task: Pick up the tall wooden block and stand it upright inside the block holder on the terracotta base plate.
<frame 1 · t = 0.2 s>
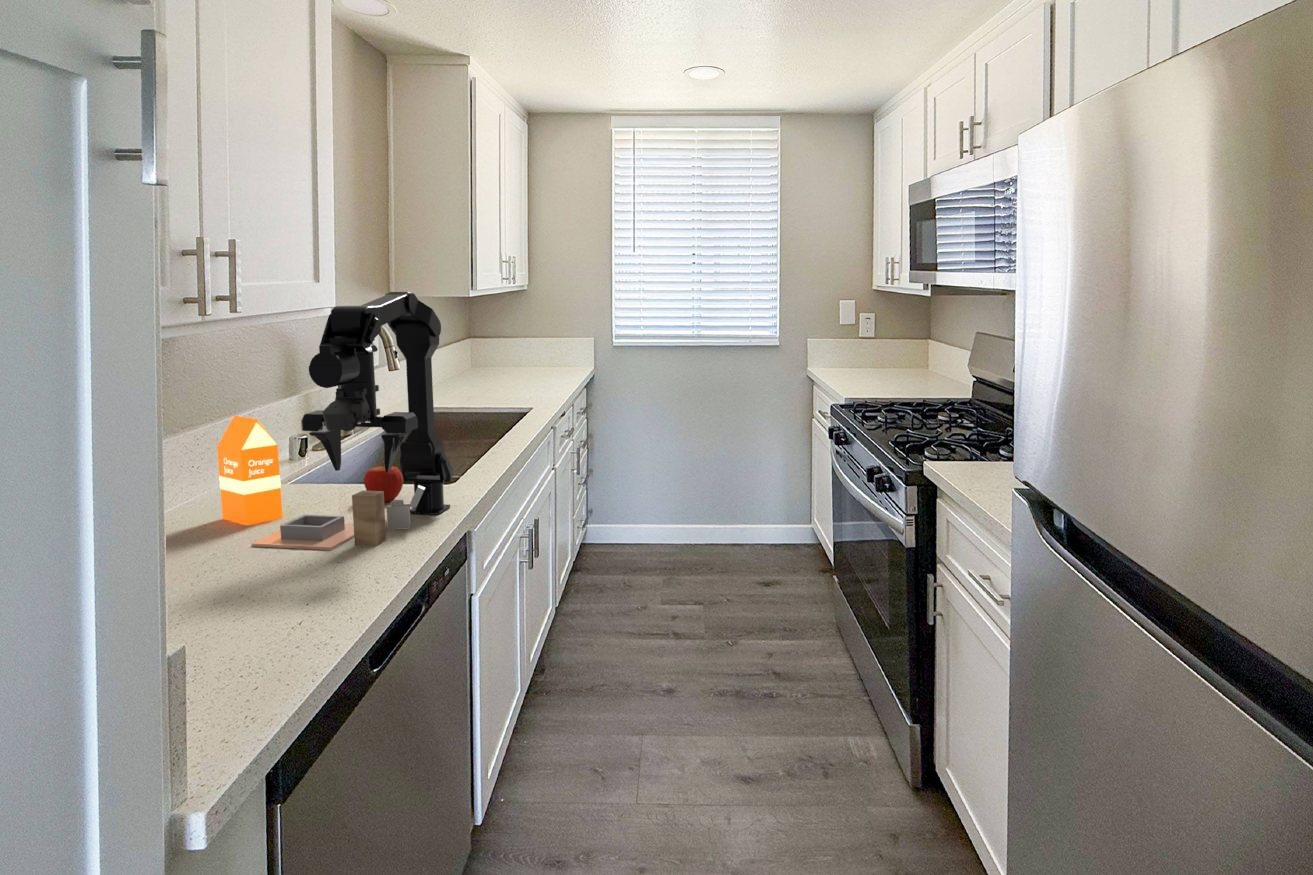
hand: (362, 471, 161), 14 cm above the worktop, fingers open, 9 cm apart
block holder: (313, 536, 171), on the worktop
lighter: (407, 528, 177), on the worktop
orange juice: (252, 519, 184), on the worktop
apple: (384, 501, 199), on the worktop
wooden block: (370, 542, 167), on the worktop
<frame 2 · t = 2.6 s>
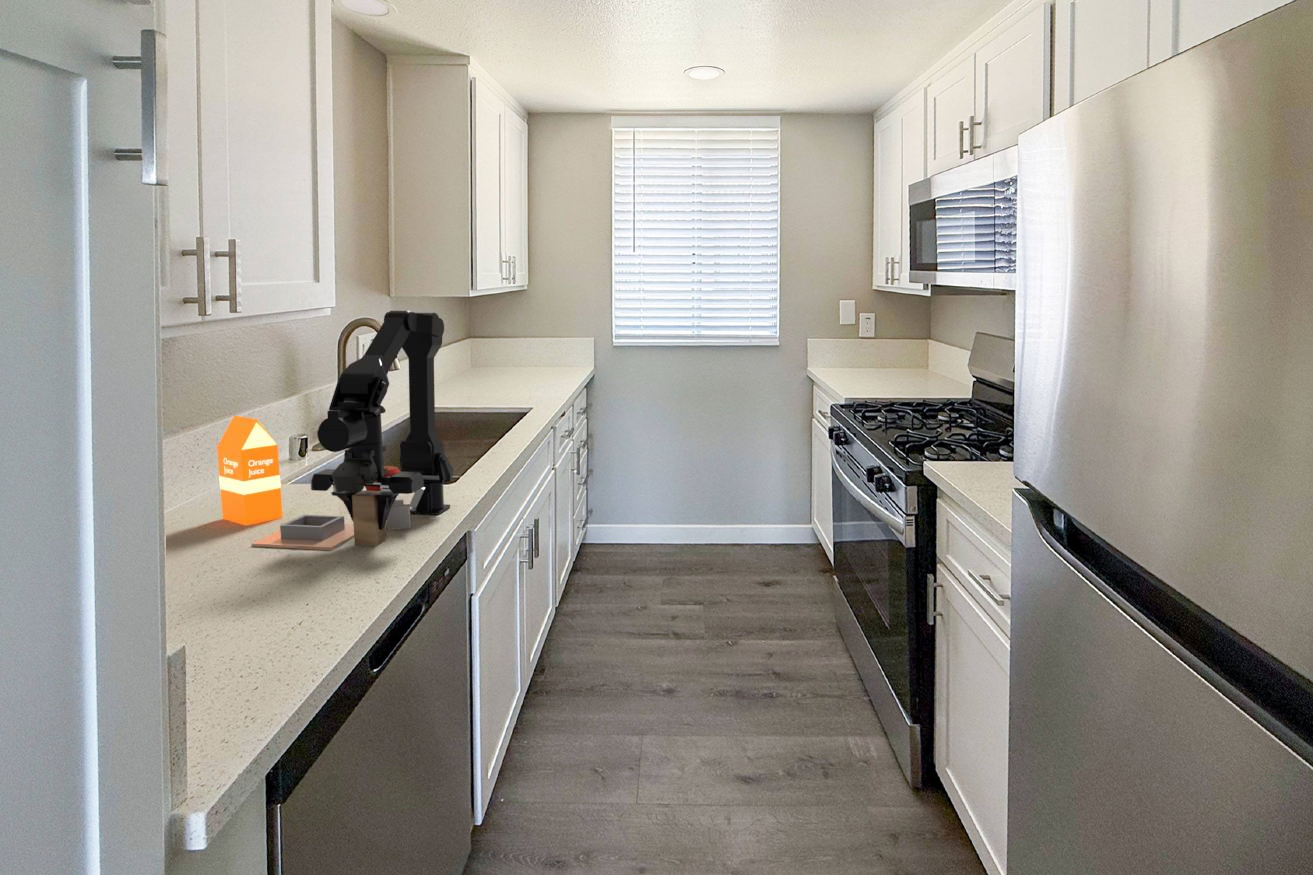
hand: (369, 528, 166), 3 cm above the worktop, fingers closed on wooden block, 4 cm apart
wooden block: (370, 542, 167), on the worktop, touching gripper
everything else where it was.
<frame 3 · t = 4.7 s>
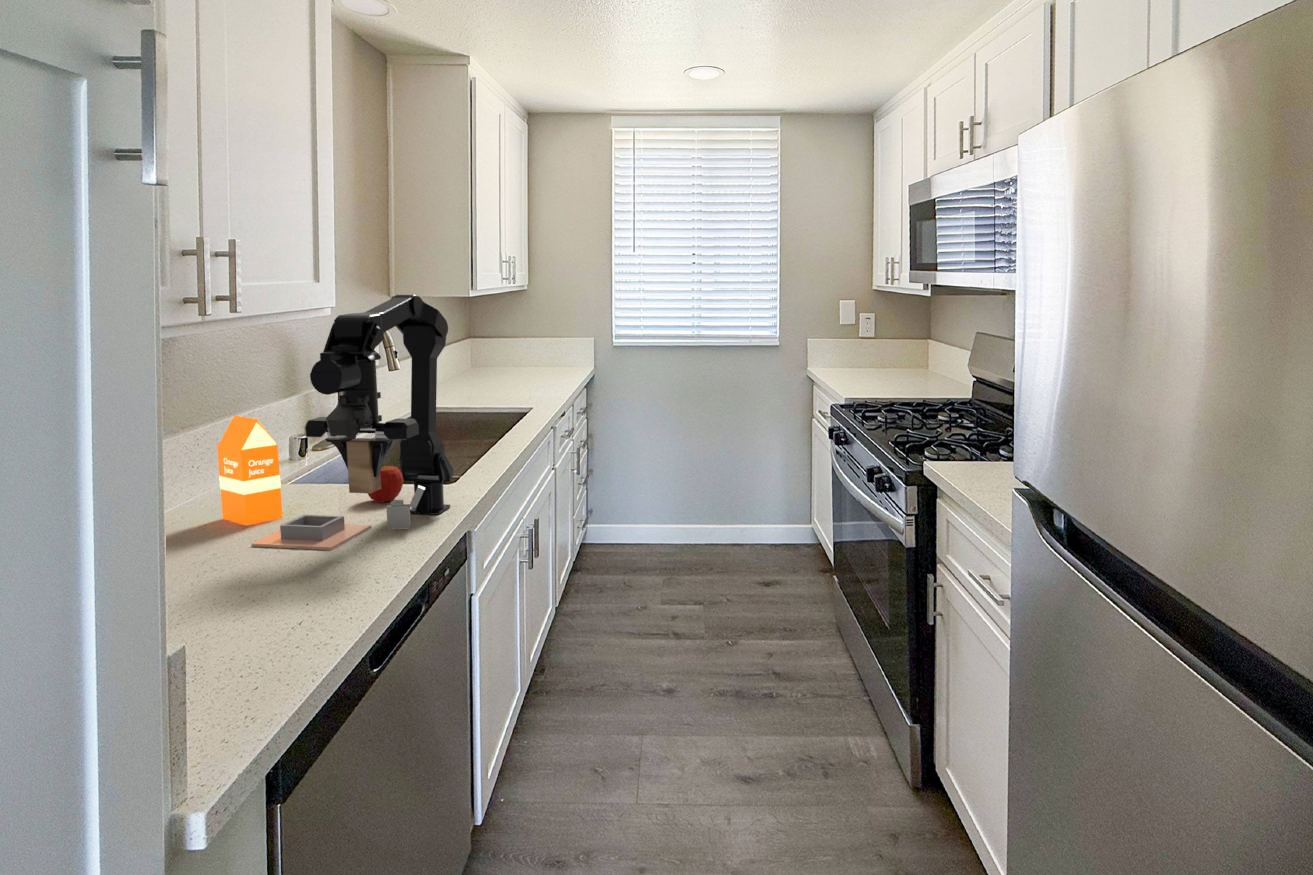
hand: (364, 476, 165), 12 cm above the worktop, fingers closed on wooden block, 4 cm apart
wooden block: (365, 490, 165), point 9 cm above the worktop, touching gripper
everything else where it was.
when the fingers open (4 cm above the worktop, at t = 7.2 s): wooden block stays where it is, resting on block holder.
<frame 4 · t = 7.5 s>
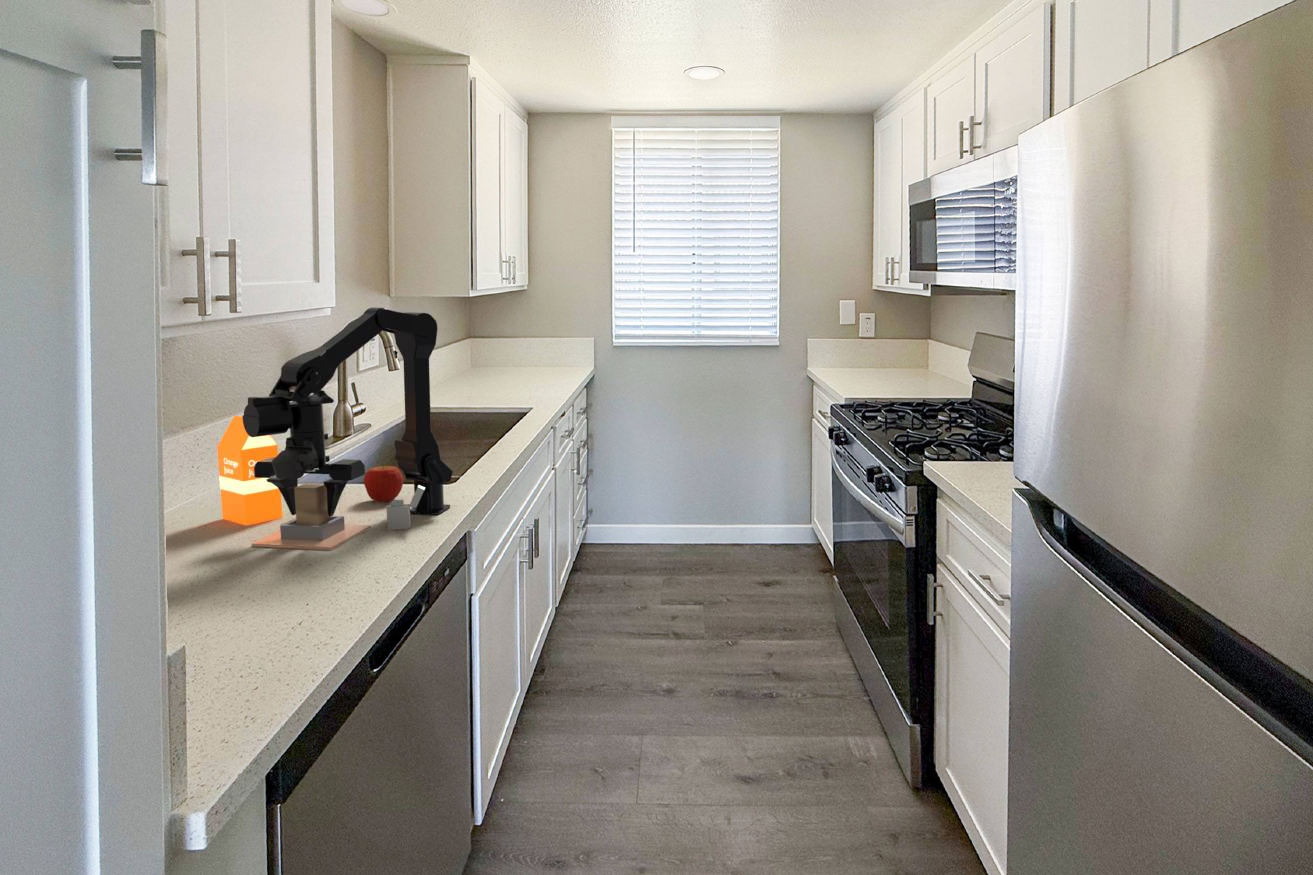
hand: (312, 515, 170), 4 cm above the worktop, fingers open, 7 cm apart
wooden block: (313, 534, 170), resting on block holder
everything else where it was.
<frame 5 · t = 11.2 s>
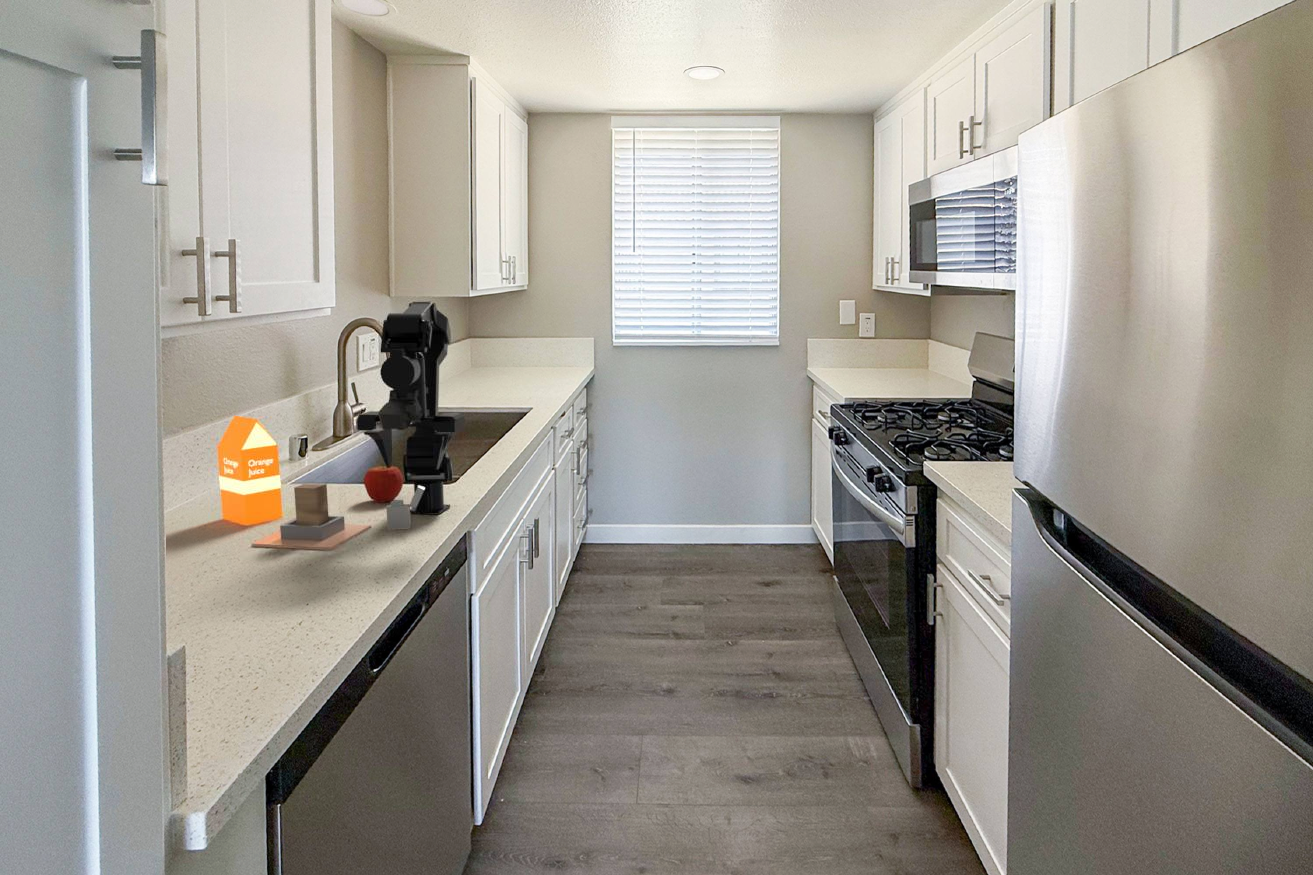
hand: (412, 468, 172), 12 cm above the worktop, fingers open, 9 cm apart
nothing on the worktop moved.
at the end: wooden block 0.0 cm off-centre on the block holder, point 0.5 cm above the block holder's base; wooden block tilted 0°; the gripper is holding nothing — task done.
